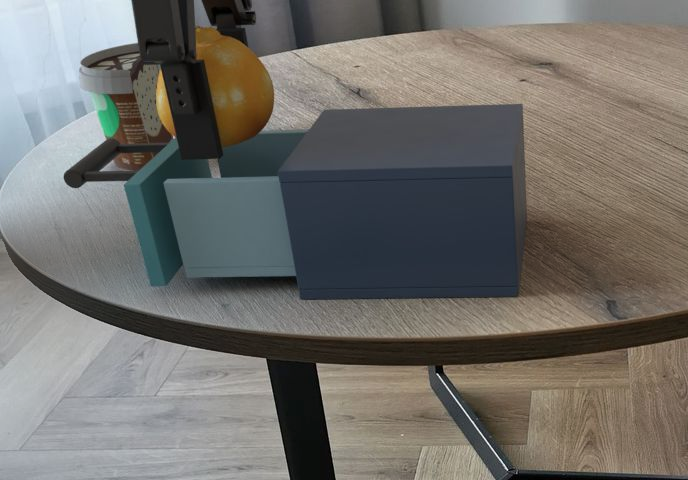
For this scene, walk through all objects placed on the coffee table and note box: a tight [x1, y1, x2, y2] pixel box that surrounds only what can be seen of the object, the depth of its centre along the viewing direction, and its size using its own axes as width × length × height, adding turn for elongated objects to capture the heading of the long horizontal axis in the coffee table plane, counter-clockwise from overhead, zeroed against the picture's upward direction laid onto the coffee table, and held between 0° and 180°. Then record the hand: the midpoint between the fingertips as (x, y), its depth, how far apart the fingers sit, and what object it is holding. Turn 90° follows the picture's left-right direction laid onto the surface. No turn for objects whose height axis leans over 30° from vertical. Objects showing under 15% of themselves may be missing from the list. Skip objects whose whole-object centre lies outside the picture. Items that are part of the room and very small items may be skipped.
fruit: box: [156, 25, 275, 147], centre depth 68 cm, size 8×8×8 cm
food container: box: [78, 42, 174, 171], centre depth 95 cm, size 12×6×10 cm, turn 6°
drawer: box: [63, 128, 310, 287], centre depth 72 cm, size 20×12×8 cm, turn 86°
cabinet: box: [278, 103, 528, 300], centre depth 71 cm, size 16×14×10 cm
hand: (223, 135), depth 70 cm, fingers closed on fruit, 8 cm apart
